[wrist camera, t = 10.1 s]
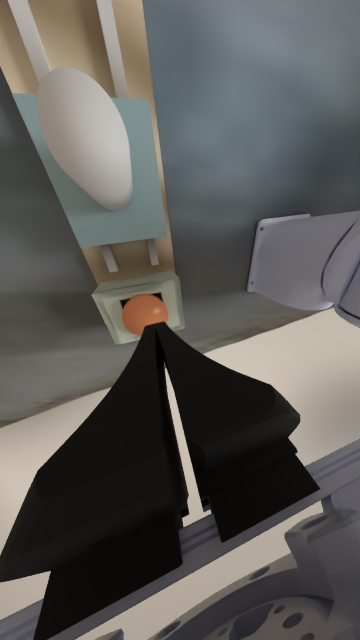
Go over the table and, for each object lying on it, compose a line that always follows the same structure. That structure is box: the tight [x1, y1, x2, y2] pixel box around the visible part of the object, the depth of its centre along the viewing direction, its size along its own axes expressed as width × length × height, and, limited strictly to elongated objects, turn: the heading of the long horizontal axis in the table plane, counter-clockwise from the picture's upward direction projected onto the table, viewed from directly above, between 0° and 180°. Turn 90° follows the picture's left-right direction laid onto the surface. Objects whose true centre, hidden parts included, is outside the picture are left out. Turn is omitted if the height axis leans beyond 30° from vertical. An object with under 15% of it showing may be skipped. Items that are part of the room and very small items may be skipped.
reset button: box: [122, 293, 168, 336], centre depth 15 cm, size 4×4×4 cm
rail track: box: [0, 0, 175, 308], centre depth 12 cm, size 28×9×3 cm, turn 6°
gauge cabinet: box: [91, 270, 185, 345], centre depth 16 cm, size 6×8×5 cm
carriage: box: [12, 67, 167, 248], centre depth 8 cm, size 7×7×8 cm
